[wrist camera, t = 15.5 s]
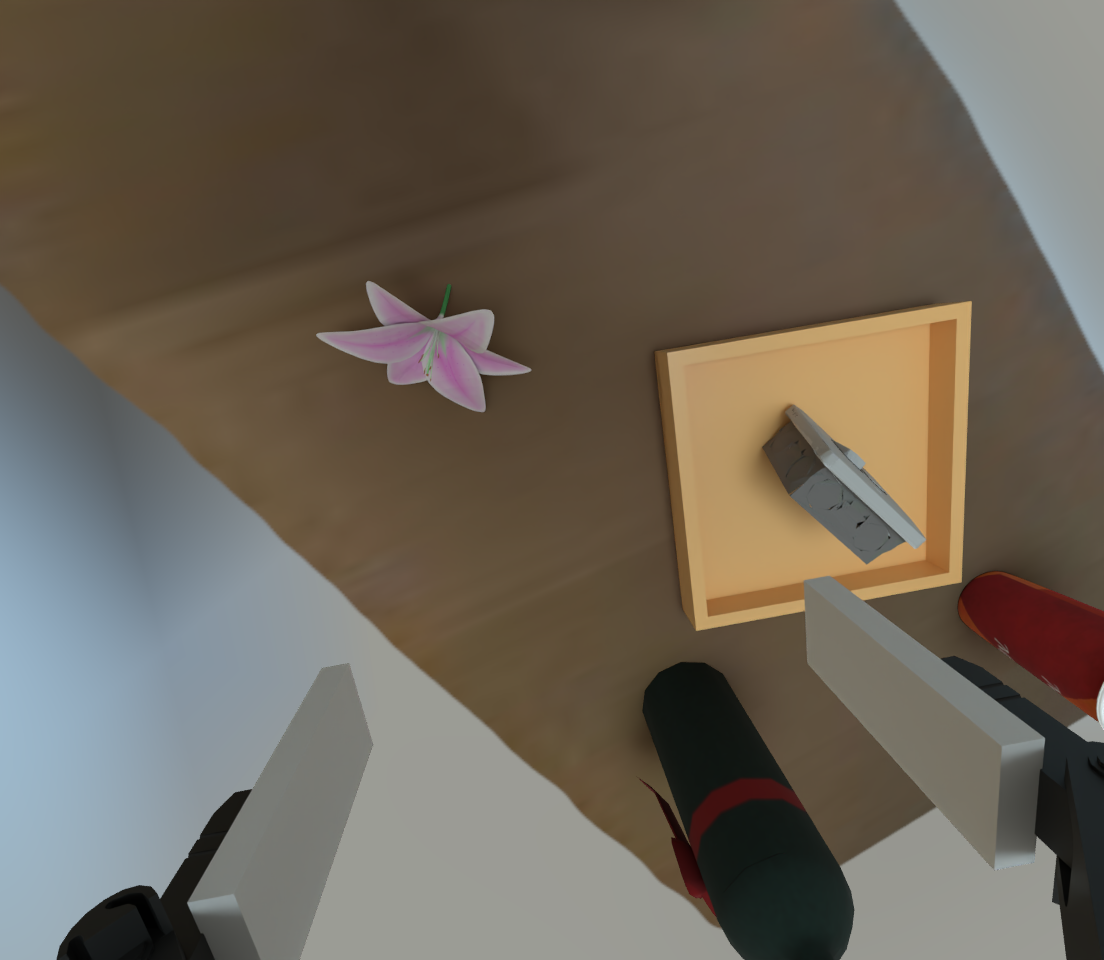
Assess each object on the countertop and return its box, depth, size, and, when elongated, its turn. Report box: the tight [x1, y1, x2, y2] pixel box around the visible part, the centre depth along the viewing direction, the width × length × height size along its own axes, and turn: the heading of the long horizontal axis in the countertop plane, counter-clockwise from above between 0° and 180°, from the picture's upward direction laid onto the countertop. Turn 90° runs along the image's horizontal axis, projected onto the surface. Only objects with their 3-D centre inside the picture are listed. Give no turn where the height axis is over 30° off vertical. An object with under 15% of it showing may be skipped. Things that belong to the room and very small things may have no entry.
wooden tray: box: [654, 301, 972, 631], centre depth 41 cm, size 21×21×4 cm
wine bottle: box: [636, 662, 854, 960], centre depth 33 cm, size 8×10×30 cm
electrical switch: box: [762, 405, 927, 565], centre depth 38 cm, size 9×5×9 cm, turn 50°
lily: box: [316, 281, 531, 412], centre depth 35 cm, size 12×12×10 cm
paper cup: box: [958, 571, 1104, 730], centre depth 41 cm, size 8×8×14 cm
